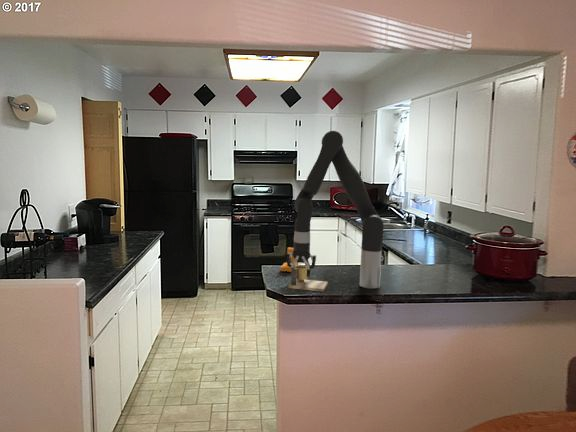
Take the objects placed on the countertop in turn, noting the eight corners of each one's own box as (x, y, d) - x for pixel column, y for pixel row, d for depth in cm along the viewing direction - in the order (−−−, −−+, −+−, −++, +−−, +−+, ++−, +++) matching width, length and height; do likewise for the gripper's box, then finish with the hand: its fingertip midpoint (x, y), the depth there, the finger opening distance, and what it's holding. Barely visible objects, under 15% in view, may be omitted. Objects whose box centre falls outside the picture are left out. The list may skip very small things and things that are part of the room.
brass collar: (308, 276, 214) (309, 266, 214) (305, 280, 208) (306, 269, 208) (295, 275, 216) (296, 264, 215) (292, 278, 210) (292, 268, 209)
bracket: (284, 267, 242) (285, 245, 240) (298, 268, 241) (298, 246, 239) (280, 272, 232) (281, 249, 230) (294, 273, 230) (295, 250, 228)
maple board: (327, 284, 213) (328, 267, 212) (323, 291, 202) (323, 273, 201) (294, 280, 217) (294, 264, 216) (287, 287, 206) (288, 270, 204)
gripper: (318, 240, 211) (317, 275, 214) (288, 238, 215) (287, 272, 217) (315, 243, 204) (314, 280, 207) (284, 241, 208) (283, 276, 210)
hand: (300, 276), depth 212 cm, fingers closed on brass collar, 6 cm apart
